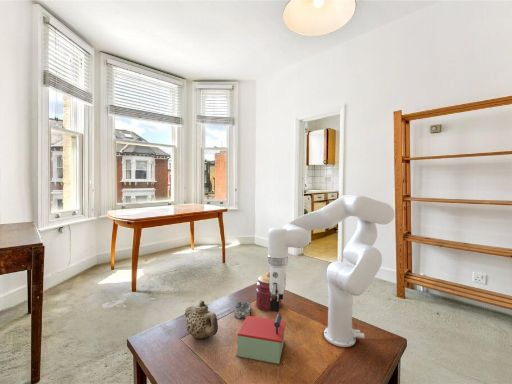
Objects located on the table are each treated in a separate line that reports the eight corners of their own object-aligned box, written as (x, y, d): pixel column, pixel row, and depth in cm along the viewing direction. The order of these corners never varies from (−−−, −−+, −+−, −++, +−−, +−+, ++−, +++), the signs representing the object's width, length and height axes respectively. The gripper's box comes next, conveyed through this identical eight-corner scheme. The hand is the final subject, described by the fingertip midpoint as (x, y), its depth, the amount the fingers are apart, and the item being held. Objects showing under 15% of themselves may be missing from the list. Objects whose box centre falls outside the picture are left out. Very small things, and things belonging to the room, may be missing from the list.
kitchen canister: (285, 303, 131) (285, 270, 130) (273, 314, 120) (274, 278, 119) (264, 296, 138) (264, 266, 137) (251, 306, 127) (251, 273, 126)
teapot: (176, 331, 105) (175, 297, 105) (198, 320, 114) (198, 288, 113) (205, 355, 91) (205, 316, 90) (228, 341, 99) (229, 305, 98)
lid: (286, 323, 99) (286, 310, 98) (281, 343, 86) (281, 328, 86) (247, 317, 103) (247, 305, 102) (237, 335, 90) (237, 321, 90)
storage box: (283, 341, 99) (284, 323, 99) (279, 364, 87) (279, 342, 87) (246, 335, 103) (247, 317, 103) (237, 356, 91) (237, 335, 90)
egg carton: (249, 319, 115) (249, 310, 115) (233, 318, 116) (233, 310, 115) (250, 307, 126) (250, 299, 126) (236, 307, 126) (236, 299, 126)
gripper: (284, 269, 83) (283, 318, 84) (290, 254, 100) (289, 296, 100) (263, 266, 85) (262, 315, 85) (272, 253, 102) (271, 293, 102)
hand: (276, 304), depth 93 cm, fingers open, 9 cm apart
